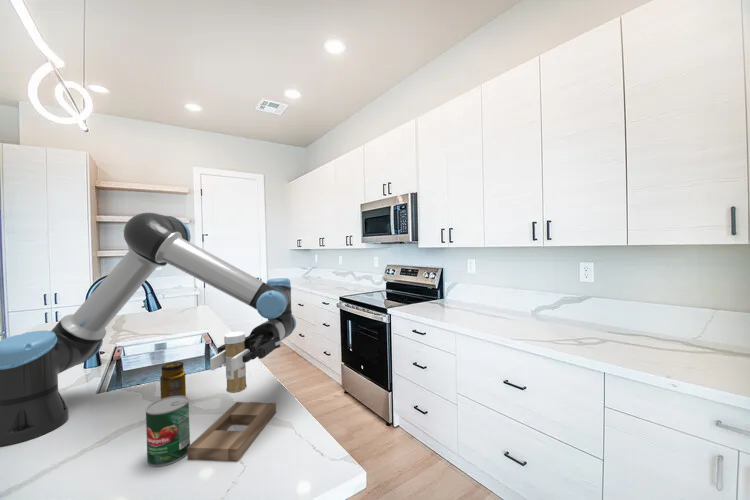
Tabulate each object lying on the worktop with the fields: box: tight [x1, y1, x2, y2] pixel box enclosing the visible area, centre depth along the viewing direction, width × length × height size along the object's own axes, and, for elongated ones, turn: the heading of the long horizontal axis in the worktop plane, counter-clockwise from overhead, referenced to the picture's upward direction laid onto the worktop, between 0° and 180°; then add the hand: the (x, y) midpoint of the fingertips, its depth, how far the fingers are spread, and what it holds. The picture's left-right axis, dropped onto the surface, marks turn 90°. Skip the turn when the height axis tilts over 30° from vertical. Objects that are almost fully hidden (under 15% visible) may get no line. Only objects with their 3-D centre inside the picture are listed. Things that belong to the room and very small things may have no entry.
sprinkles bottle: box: [223, 331, 248, 394], centre depth 78 cm, size 5×5×13 cm
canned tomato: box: [145, 395, 191, 468], centre depth 70 cm, size 8×8×11 cm
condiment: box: [159, 361, 191, 401], centre depth 91 cm, size 7×8×12 cm
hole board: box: [187, 401, 277, 462], centre depth 78 cm, size 11×20×2 cm, turn 174°
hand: (222, 364), depth 72 cm, fingers closed on sprinkles bottle, 4 cm apart
